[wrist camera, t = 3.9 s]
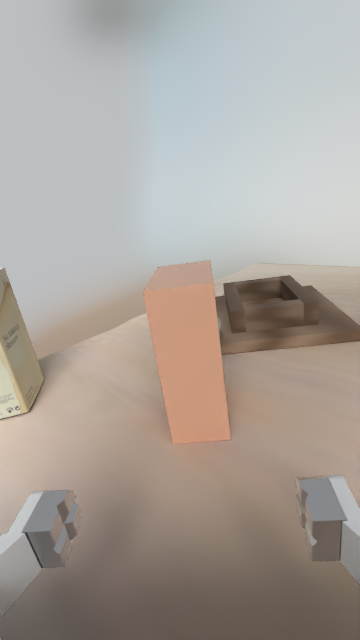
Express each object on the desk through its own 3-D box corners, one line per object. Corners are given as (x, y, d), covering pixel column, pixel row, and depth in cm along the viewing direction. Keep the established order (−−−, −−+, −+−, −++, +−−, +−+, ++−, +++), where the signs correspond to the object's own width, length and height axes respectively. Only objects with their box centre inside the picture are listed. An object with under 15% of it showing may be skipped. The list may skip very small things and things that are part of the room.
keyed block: (224, 385, 27) (210, 260, 23) (230, 439, 21) (213, 282, 17) (178, 389, 28) (157, 267, 24) (172, 443, 22) (142, 291, 18)
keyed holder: (311, 293, 46) (310, 268, 45) (363, 340, 31) (365, 305, 30) (201, 306, 48) (198, 282, 46) (201, 356, 33) (196, 323, 32)
